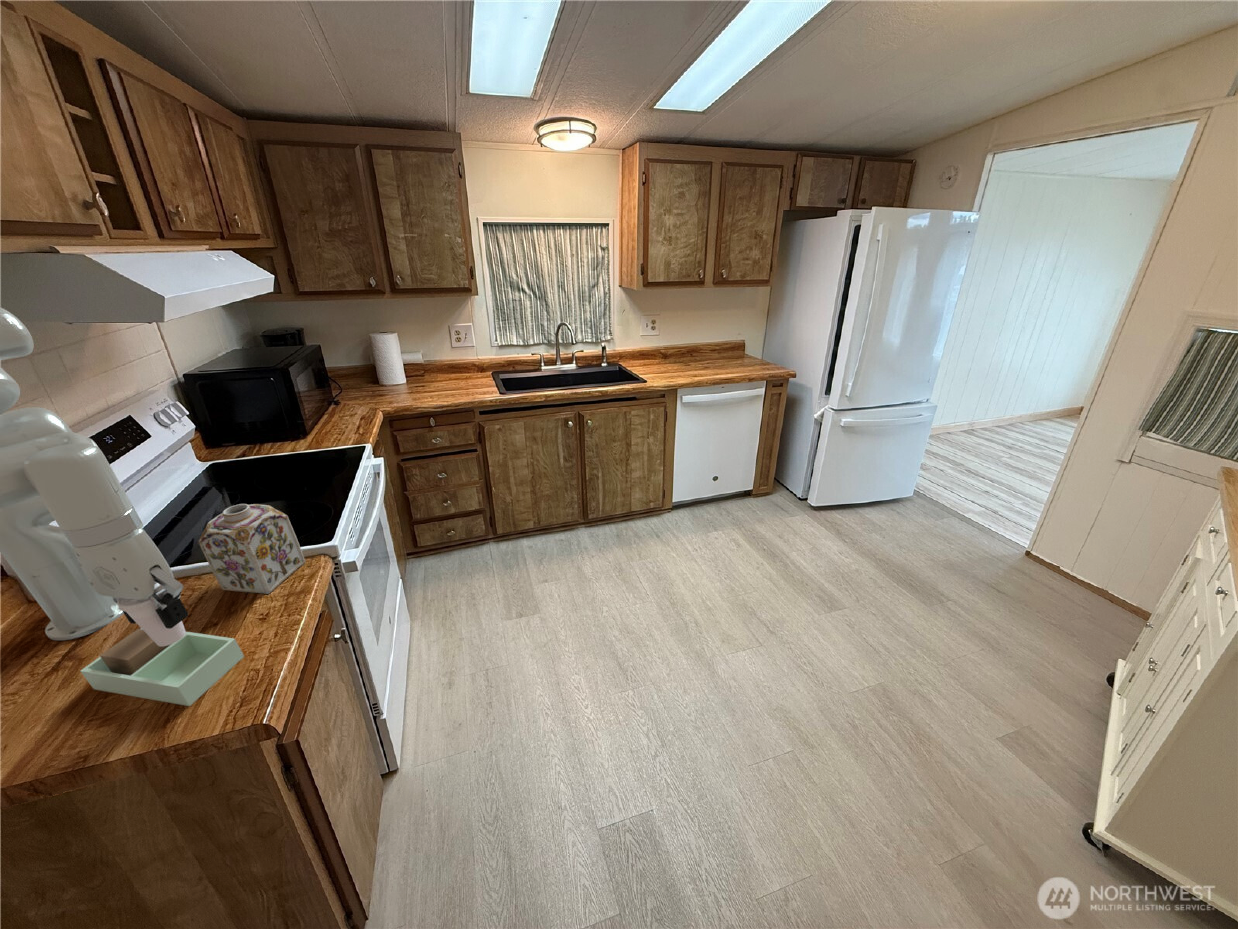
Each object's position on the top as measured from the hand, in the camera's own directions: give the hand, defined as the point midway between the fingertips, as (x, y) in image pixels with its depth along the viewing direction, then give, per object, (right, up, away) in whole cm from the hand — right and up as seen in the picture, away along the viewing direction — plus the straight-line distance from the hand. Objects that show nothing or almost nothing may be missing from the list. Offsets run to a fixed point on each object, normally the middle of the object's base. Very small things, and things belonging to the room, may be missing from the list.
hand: (159, 619), depth 77 cm
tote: (-4, -12, +7) cm, 15 cm away
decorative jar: (-6, -1, +31) cm, 32 cm away
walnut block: (-9, -11, +8) cm, 16 cm away
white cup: (0, -4, +2) cm, 4 cm away
